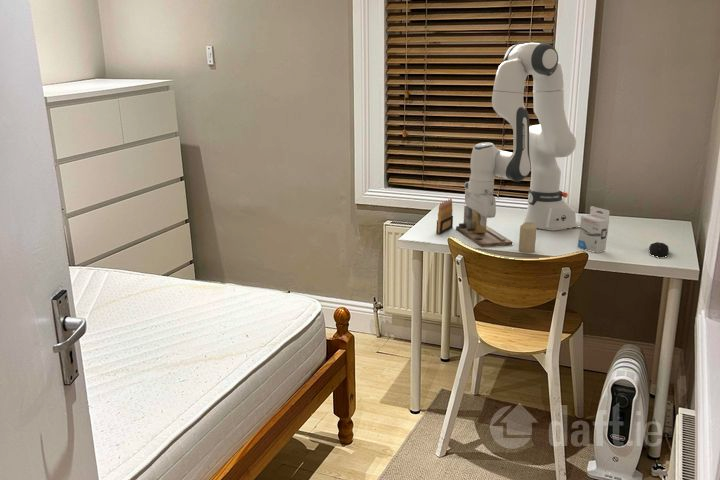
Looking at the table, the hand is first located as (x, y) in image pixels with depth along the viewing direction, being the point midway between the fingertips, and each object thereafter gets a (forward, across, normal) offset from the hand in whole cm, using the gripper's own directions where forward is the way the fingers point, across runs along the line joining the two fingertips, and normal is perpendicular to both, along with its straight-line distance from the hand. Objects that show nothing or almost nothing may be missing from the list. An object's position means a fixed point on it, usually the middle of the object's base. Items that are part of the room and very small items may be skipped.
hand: (479, 223), depth 256 cm
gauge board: (+5, -2, -1) cm, 5 cm away
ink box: (+5, -25, -32) cm, 41 cm away
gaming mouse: (+5, -35, -52) cm, 63 cm away
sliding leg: (+3, 0, +1) cm, 3 cm away
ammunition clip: (+5, +9, +10) cm, 14 cm away
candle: (+5, -21, -9) cm, 23 cm away
